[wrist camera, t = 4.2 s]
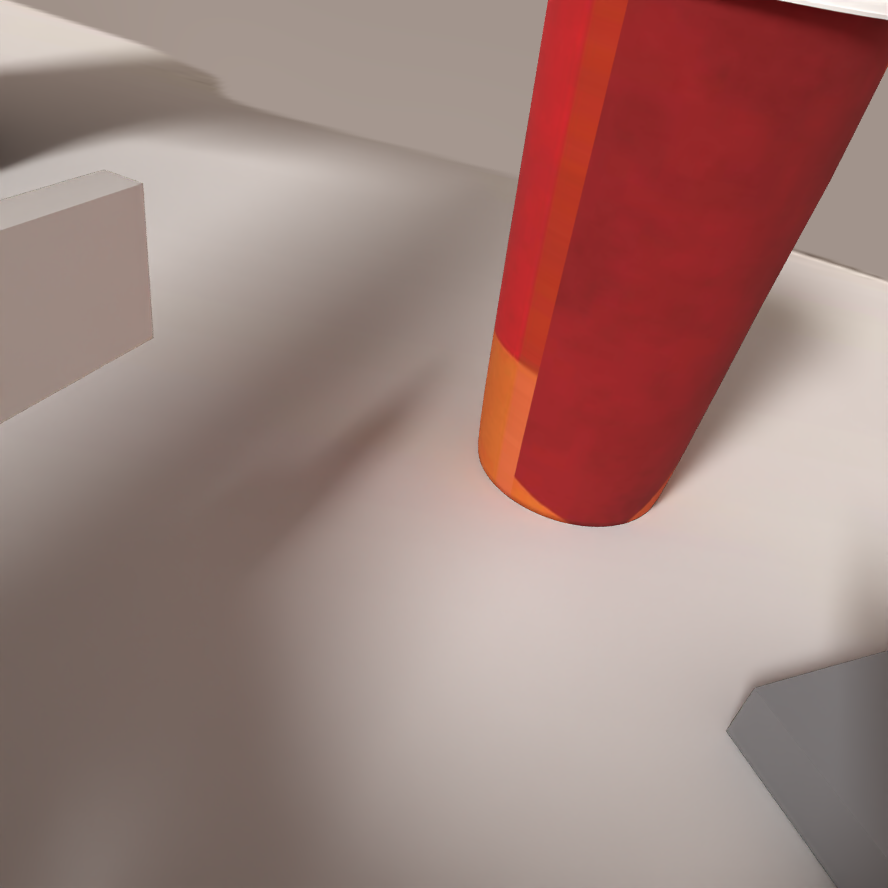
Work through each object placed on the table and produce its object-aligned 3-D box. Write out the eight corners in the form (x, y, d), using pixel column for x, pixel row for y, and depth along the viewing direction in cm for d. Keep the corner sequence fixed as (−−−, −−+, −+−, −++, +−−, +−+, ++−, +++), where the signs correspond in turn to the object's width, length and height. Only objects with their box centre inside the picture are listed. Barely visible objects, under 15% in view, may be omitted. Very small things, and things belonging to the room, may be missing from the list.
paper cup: (740, 484, 24) (1012, -49, 15) (599, 601, 19) (888, -90, 10) (543, 366, 28) (677, -111, 19) (384, 438, 23) (472, -163, 14)
